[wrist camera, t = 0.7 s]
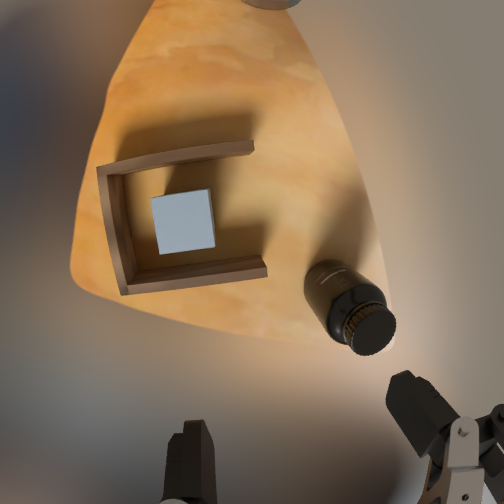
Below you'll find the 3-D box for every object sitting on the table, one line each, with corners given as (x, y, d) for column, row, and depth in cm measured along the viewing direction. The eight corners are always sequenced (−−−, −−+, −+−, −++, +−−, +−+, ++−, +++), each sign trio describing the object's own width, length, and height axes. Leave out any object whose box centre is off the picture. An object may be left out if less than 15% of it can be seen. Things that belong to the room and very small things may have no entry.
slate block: (163, 194, 28) (150, 198, 22) (209, 187, 28) (207, 189, 22) (170, 239, 29) (159, 254, 23) (215, 233, 29) (215, 246, 24)
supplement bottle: (319, 248, 31) (371, 286, 20) (361, 271, 33) (418, 311, 21) (291, 298, 32) (326, 356, 21) (334, 316, 34) (378, 371, 22)
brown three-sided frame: (113, 168, 26) (96, 167, 22) (248, 145, 27) (253, 139, 23) (132, 280, 29) (120, 295, 25) (260, 263, 31) (267, 276, 26)
